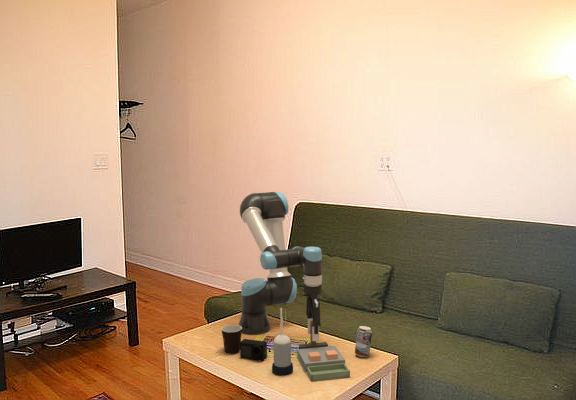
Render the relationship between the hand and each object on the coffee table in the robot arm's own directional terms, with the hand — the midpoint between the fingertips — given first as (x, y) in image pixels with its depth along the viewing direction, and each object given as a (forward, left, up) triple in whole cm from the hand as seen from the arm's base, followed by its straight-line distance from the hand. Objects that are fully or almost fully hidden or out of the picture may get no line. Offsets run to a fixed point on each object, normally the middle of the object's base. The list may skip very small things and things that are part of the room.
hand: (313, 336), depth 215 cm
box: (+23, 0, -6) cm, 24 cm away
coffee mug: (-9, -33, -6) cm, 35 cm away
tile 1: (+15, -4, -3) cm, 16 cm away
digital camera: (+2, -26, -6) cm, 27 cm away
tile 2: (+15, +3, -3) cm, 16 cm away
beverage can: (+9, +19, -6) cm, 22 cm away
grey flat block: (+12, 0, -6) cm, 13 cm away
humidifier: (+16, -16, -6) cm, 24 cm away
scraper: (0, 0, -6) cm, 6 cm away
